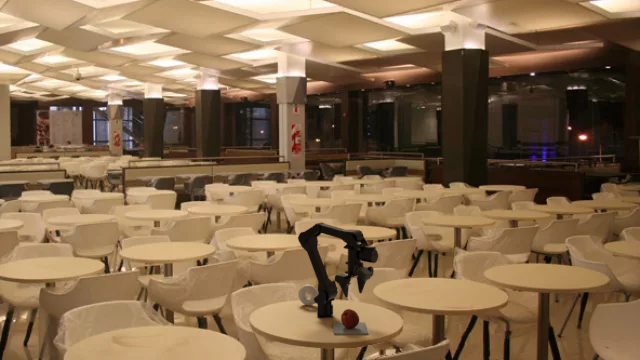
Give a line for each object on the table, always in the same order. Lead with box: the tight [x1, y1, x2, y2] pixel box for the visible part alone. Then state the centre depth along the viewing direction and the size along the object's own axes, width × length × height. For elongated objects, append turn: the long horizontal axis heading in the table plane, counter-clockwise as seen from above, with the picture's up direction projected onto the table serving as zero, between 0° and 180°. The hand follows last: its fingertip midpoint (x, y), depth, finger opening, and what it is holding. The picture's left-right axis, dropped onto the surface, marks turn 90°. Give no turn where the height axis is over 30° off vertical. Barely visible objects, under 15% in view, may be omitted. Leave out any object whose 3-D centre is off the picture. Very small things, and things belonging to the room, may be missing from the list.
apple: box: [340, 308, 360, 329], centre depth 285 cm, size 7×8×8 cm
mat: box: [332, 321, 369, 336], centre depth 285 cm, size 14×14×1 cm
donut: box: [297, 283, 319, 306], centre depth 319 cm, size 10×4×10 cm, turn 70°
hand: (353, 295), depth 294 cm, fingers open, 9 cm apart
